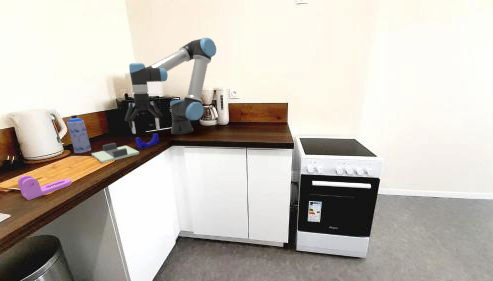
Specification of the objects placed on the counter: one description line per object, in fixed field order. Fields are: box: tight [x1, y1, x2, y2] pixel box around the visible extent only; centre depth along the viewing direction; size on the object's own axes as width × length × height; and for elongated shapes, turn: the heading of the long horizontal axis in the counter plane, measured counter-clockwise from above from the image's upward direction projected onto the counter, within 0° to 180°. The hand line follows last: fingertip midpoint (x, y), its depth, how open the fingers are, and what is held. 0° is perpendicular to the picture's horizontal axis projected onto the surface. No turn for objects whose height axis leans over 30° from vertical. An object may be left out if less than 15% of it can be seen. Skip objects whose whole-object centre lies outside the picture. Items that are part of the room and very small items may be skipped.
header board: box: [91, 142, 140, 163], centre depth 112 cm, size 17×18×4 cm
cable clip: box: [135, 133, 160, 150], centre depth 126 cm, size 12×4×6 cm, turn 141°
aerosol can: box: [66, 114, 92, 154], centre depth 120 cm, size 8×8×20 cm
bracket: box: [17, 174, 73, 201], centre depth 77 cm, size 13×6×7 cm, turn 149°
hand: (146, 131), depth 124 cm, fingers open, 13 cm apart
